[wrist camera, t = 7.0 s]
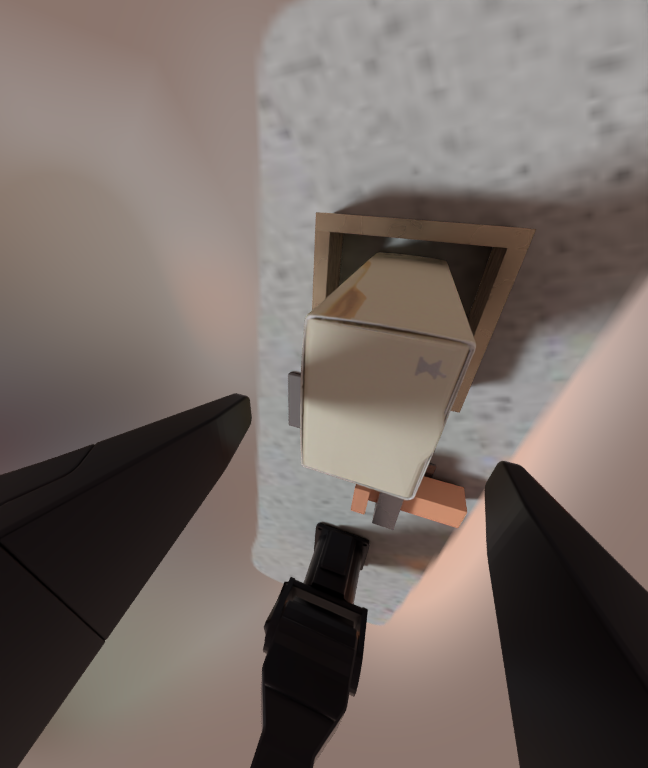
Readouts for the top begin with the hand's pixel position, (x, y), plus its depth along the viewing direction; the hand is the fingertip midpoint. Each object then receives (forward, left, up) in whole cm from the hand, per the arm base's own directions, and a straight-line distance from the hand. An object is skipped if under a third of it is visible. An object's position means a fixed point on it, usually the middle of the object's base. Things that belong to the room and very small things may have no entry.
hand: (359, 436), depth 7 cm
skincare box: (0, 0, -13) cm, 13 cm away
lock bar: (-15, -3, -13) cm, 20 cm away
